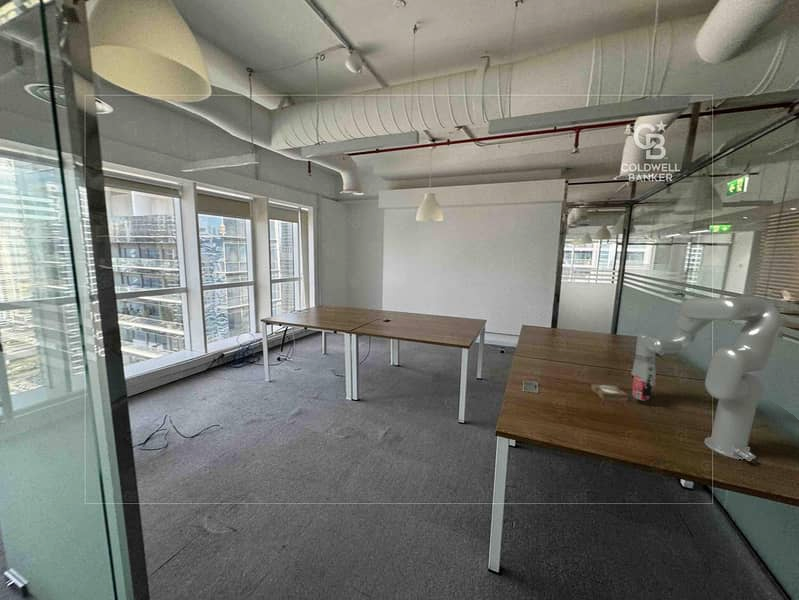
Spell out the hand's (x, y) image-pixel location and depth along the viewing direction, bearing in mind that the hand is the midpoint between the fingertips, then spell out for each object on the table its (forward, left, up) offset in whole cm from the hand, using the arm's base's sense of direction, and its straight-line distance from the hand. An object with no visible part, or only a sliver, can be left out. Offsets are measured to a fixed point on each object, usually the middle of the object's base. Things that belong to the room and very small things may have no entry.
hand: (641, 392), depth 152 cm
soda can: (0, 0, -4) cm, 4 cm away
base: (+8, +10, -6) cm, 14 cm away
